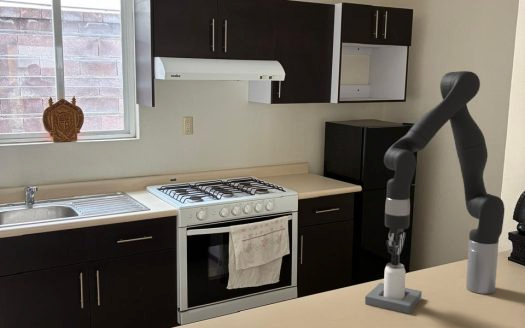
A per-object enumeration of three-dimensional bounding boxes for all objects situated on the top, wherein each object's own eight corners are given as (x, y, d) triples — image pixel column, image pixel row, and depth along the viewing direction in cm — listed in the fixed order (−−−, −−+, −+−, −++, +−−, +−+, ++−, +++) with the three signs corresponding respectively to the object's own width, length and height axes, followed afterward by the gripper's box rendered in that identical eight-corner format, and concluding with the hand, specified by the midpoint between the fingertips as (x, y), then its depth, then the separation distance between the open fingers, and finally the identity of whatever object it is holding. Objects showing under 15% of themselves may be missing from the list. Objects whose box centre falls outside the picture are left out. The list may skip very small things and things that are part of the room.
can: (404, 306, 167) (406, 269, 166) (383, 304, 169) (385, 268, 167) (403, 298, 174) (405, 262, 172) (383, 296, 175) (384, 261, 173)
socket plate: (379, 289, 181) (380, 282, 180) (421, 298, 173) (421, 291, 173) (365, 303, 169) (365, 296, 169) (408, 313, 162) (409, 305, 161)
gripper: (402, 217, 159) (400, 273, 162) (415, 209, 171) (412, 261, 173) (378, 214, 163) (376, 268, 166) (392, 206, 174) (390, 257, 177)
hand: (395, 264), depth 169 cm, fingers closed
